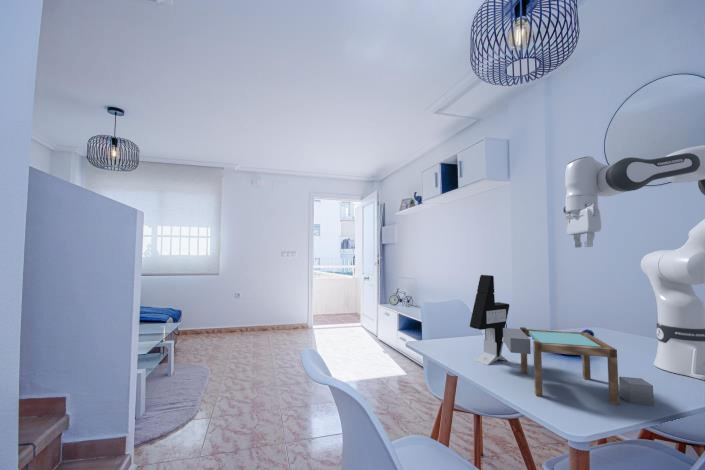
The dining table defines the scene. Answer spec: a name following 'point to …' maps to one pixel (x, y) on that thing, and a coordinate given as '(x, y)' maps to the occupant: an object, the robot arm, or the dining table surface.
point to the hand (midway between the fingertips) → (583, 247)
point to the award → (489, 320)
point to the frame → (575, 350)
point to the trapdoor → (541, 339)
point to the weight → (636, 391)
